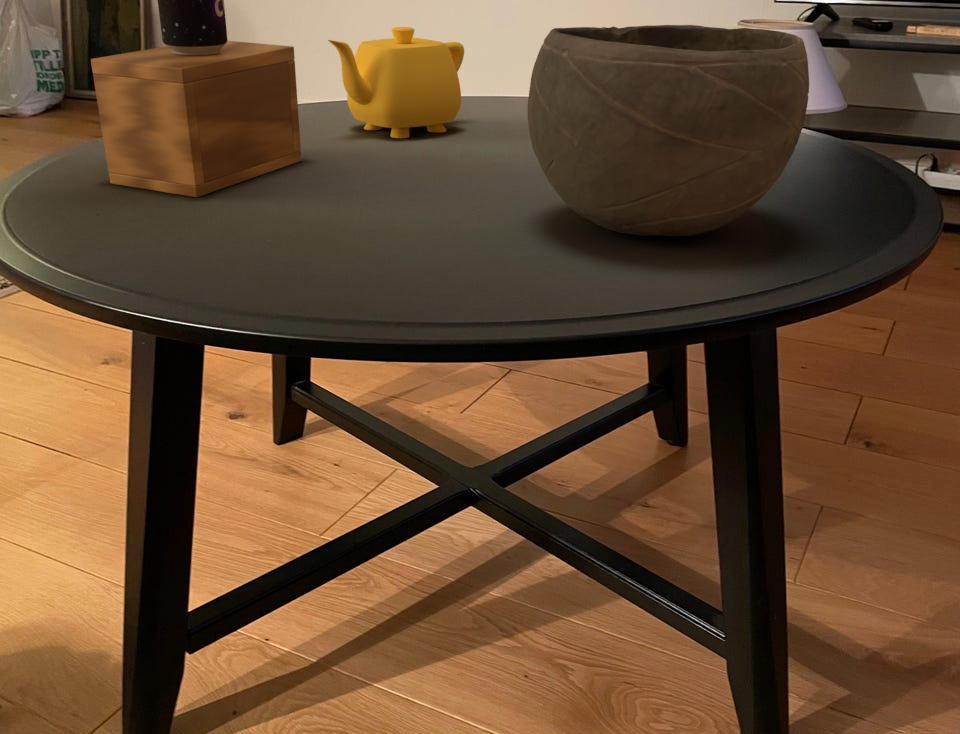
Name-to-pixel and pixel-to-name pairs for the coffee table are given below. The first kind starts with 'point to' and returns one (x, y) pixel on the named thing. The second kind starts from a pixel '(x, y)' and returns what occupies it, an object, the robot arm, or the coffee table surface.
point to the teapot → (402, 82)
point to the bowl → (666, 122)
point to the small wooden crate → (197, 116)
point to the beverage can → (193, 26)
